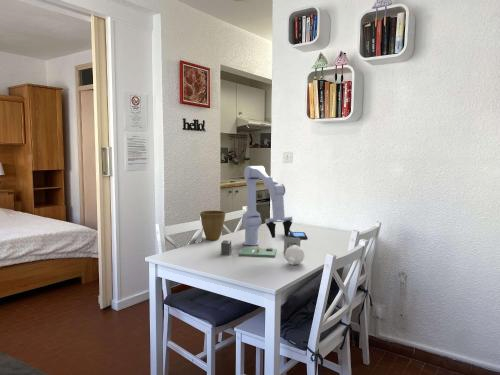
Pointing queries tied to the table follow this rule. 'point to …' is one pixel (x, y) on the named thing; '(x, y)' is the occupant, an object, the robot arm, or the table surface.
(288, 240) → the electrical switch
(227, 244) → the plug
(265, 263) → the table surface
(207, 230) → the plant pot
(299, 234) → the handheld game console
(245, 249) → the pcb
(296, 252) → the perfume bottle
